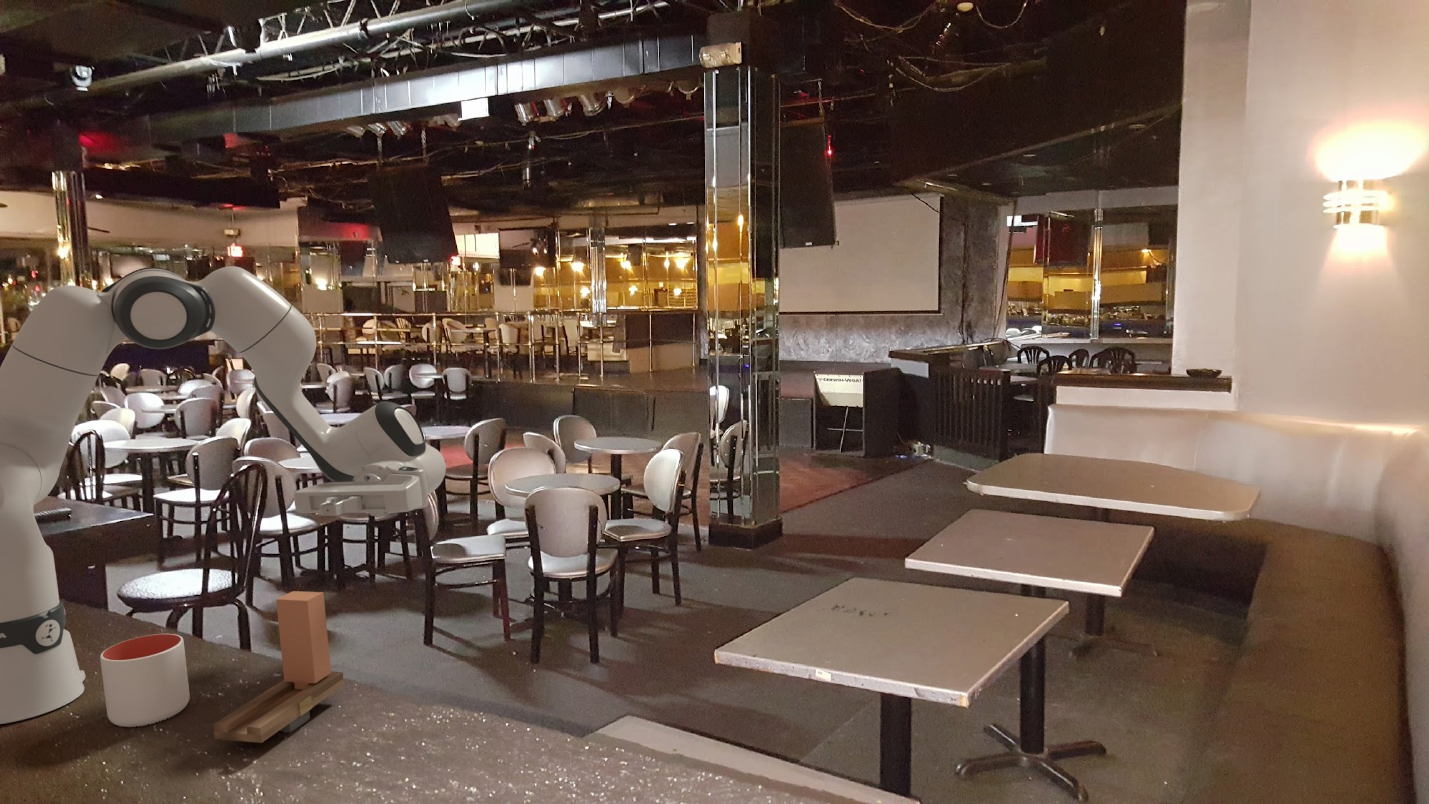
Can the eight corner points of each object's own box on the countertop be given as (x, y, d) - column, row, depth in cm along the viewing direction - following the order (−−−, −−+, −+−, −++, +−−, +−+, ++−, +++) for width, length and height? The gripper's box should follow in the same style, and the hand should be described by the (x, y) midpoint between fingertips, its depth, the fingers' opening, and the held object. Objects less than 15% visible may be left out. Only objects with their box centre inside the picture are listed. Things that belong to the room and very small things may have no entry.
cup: (152, 733, 123) (143, 662, 122) (90, 728, 125) (81, 659, 124) (206, 700, 133) (199, 634, 132) (148, 696, 135) (141, 632, 134)
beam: (215, 753, 117) (212, 723, 117) (302, 695, 134) (299, 669, 133) (264, 757, 115) (261, 728, 115) (346, 698, 132) (343, 672, 131)
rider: (285, 689, 128) (276, 599, 127) (301, 678, 132) (292, 591, 130) (316, 691, 127) (307, 600, 126) (331, 680, 131) (323, 592, 129)
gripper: (323, 471, 153) (266, 491, 139) (432, 468, 148) (384, 488, 135) (328, 507, 154) (271, 531, 140) (437, 506, 149) (389, 530, 135)
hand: (327, 510), depth 137 cm, fingers closed
